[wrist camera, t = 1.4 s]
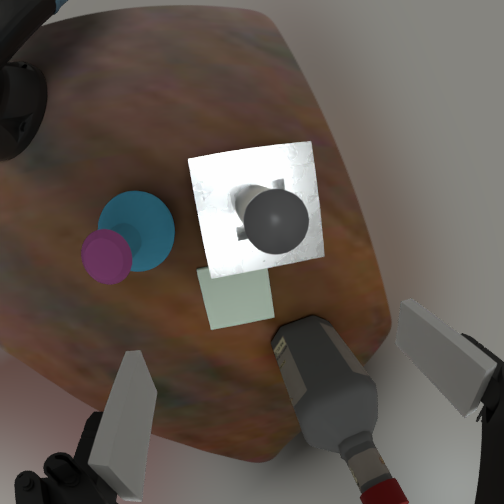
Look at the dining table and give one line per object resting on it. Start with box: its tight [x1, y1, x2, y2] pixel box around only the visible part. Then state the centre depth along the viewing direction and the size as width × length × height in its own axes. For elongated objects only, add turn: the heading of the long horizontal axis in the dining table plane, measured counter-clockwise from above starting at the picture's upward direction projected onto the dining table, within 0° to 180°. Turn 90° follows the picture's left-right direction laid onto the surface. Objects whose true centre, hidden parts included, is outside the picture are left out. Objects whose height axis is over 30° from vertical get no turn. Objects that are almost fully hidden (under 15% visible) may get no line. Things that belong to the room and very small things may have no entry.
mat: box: [197, 266, 274, 330], centre depth 39 cm, size 9×9×1 cm
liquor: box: [271, 316, 409, 504], centre depth 29 cm, size 9×9×30 cm
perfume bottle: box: [81, 191, 175, 284], centre depth 28 cm, size 9×9×15 cm
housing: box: [188, 141, 324, 279], centre depth 33 cm, size 13×13×6 cm
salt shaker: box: [235, 185, 309, 255], centre depth 28 cm, size 5×5×12 cm
